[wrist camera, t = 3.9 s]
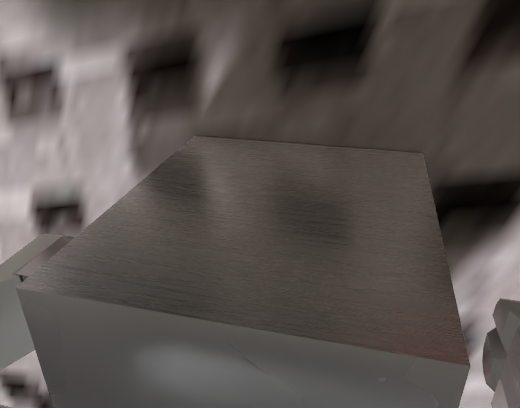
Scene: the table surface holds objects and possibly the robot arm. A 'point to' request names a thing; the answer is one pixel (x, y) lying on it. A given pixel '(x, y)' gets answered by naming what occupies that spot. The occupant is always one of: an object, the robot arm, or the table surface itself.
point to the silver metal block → (255, 287)
